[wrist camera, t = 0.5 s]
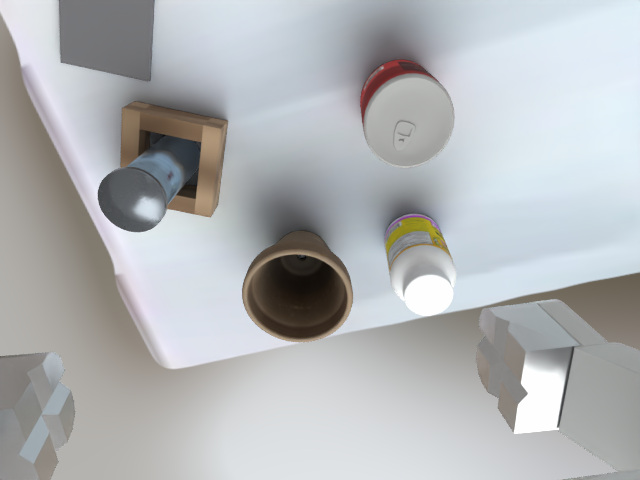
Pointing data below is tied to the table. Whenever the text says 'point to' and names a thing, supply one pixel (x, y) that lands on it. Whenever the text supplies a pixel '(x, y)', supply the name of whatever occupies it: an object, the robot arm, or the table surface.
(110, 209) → the plunger
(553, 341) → the robot arm
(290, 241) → the flower pot
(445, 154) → the table surface
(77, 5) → the mat
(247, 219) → the table surface
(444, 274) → the supplement bottle
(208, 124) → the bore block
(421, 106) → the canned food
